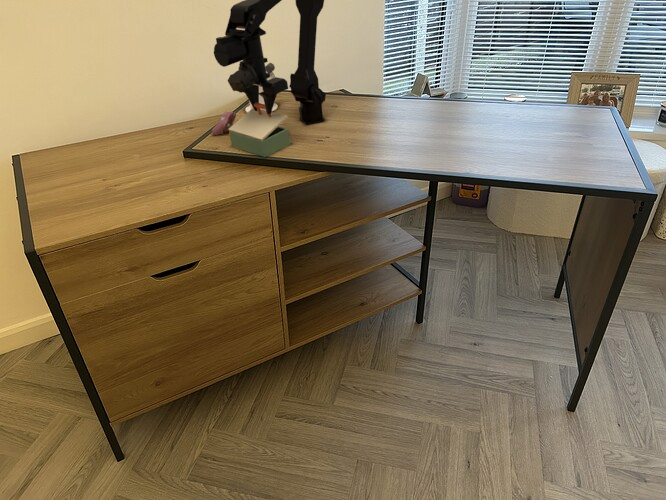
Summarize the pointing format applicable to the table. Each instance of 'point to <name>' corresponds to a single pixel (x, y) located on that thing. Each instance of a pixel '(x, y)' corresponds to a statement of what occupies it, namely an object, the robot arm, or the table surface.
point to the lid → (258, 123)
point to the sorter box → (262, 142)
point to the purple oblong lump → (224, 123)
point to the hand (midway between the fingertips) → (262, 112)
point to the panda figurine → (269, 69)
